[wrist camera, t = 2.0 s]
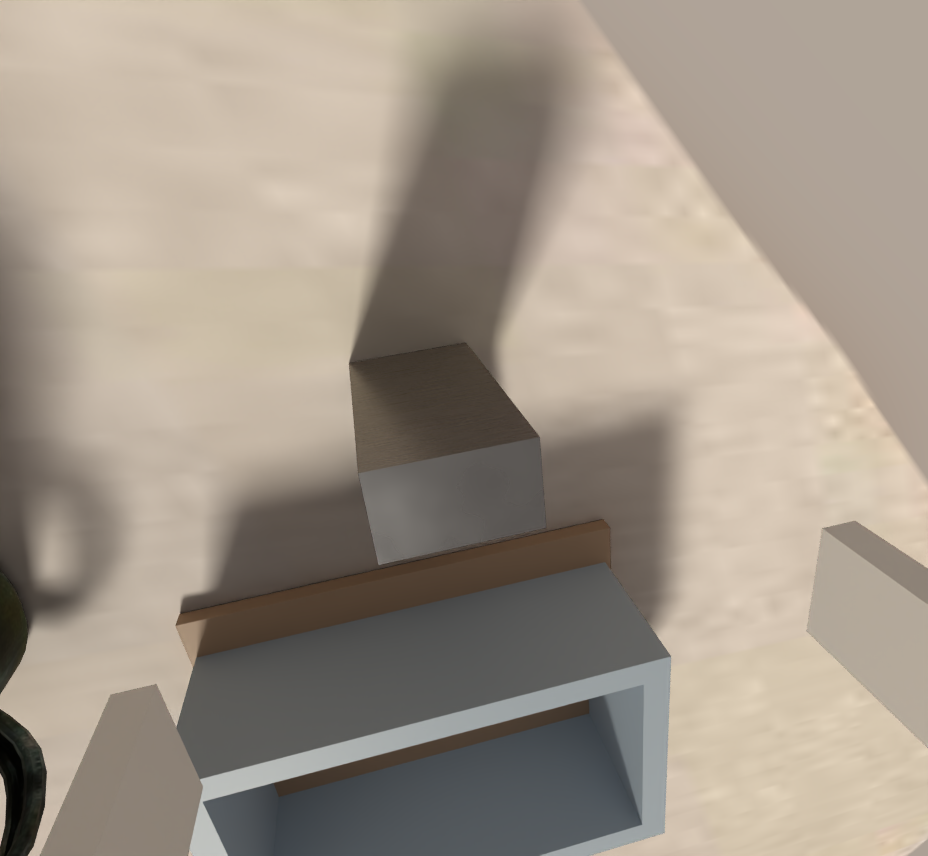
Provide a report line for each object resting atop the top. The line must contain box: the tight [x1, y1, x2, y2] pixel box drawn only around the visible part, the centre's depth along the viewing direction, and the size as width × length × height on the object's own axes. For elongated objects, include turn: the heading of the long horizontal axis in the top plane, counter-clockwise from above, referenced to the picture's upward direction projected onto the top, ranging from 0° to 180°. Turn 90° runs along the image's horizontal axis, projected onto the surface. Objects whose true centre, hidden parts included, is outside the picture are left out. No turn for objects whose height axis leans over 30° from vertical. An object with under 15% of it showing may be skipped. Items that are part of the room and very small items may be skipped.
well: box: [176, 519, 671, 856], centre depth 29 cm, size 16×21×7 cm
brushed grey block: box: [349, 343, 546, 565], centre depth 22 cm, size 6×5×10 cm
